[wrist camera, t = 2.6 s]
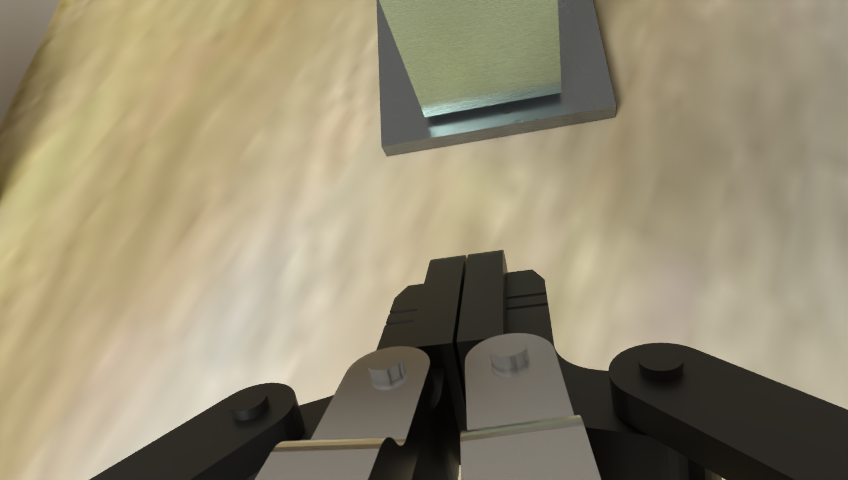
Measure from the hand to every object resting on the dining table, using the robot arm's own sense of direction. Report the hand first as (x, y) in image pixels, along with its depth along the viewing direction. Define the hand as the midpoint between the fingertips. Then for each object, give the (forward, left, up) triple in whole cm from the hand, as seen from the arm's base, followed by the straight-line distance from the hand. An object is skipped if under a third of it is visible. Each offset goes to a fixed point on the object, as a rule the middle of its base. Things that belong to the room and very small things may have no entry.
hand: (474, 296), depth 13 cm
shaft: (-18, -13, -14) cm, 27 cm away
